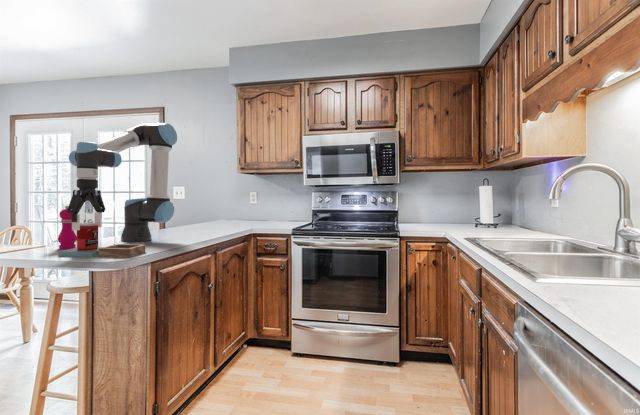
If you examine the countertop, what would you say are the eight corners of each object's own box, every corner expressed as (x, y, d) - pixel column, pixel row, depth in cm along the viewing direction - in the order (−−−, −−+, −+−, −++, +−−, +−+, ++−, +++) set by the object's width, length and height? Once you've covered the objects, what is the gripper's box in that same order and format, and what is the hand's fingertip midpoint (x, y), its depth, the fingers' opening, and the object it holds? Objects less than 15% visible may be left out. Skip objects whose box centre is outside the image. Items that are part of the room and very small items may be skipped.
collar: (117, 251, 158) (117, 243, 158) (145, 252, 158) (145, 244, 158) (98, 256, 145) (98, 248, 145) (128, 257, 145) (128, 249, 145)
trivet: (82, 250, 158) (82, 246, 158) (113, 251, 158) (113, 247, 158) (58, 256, 144) (58, 251, 144) (92, 257, 144) (92, 252, 144)
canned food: (87, 251, 147) (87, 224, 146) (71, 249, 148) (71, 223, 148) (102, 248, 154) (102, 223, 154) (87, 247, 156) (87, 222, 155)
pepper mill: (75, 246, 169) (75, 205, 168) (78, 248, 164) (78, 205, 163) (56, 248, 164) (56, 205, 163) (59, 250, 159) (59, 205, 158)
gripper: (74, 177, 137) (74, 231, 138) (114, 180, 162) (114, 226, 163) (55, 177, 138) (56, 231, 138) (98, 179, 163) (98, 225, 163)
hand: (87, 228), depth 151 cm, fingers open, 13 cm apart
